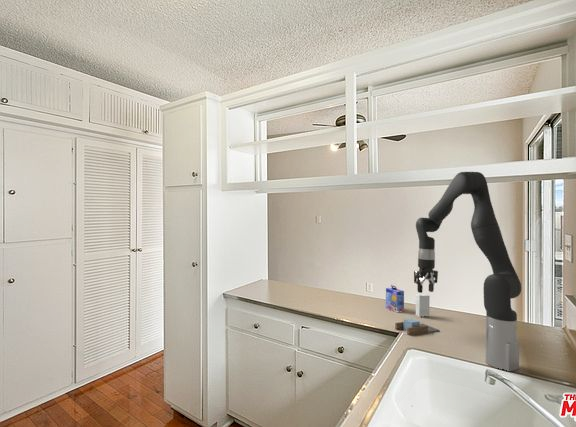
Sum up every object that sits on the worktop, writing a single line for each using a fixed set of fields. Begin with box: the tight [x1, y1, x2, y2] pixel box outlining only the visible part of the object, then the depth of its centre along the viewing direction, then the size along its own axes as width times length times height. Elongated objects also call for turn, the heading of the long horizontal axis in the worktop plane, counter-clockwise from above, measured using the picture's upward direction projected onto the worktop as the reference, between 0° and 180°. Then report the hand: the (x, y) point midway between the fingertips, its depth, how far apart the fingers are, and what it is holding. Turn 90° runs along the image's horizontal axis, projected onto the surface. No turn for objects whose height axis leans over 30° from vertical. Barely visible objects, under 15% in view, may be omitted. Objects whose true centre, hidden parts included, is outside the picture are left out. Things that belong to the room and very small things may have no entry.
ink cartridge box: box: [385, 284, 405, 312], centre depth 183 cm, size 10×6×14 cm, turn 25°
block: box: [402, 318, 421, 332], centre depth 147 cm, size 5×5×5 cm
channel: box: [394, 321, 429, 336], centre depth 147 cm, size 8×12×3 cm
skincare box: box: [415, 293, 431, 317], centre depth 172 cm, size 6×4×12 cm
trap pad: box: [420, 323, 441, 333], centre depth 151 cm, size 10×6×1 cm, turn 25°
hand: (425, 292), depth 151 cm, fingers open, 7 cm apart
